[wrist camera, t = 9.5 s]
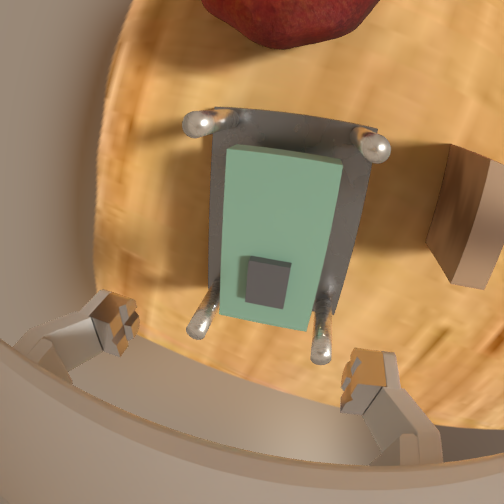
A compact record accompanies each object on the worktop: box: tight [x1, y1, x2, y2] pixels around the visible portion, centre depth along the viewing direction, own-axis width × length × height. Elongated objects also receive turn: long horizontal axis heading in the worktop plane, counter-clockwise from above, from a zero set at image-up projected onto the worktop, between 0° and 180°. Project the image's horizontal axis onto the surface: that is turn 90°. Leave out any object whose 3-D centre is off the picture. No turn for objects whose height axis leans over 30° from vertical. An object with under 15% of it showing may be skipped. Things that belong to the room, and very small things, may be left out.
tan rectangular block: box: [425, 144, 504, 290], centre depth 16 cm, size 8×3×6 cm, turn 175°
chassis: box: [182, 107, 391, 365], centre depth 19 cm, size 15×11×7 cm
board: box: [219, 144, 343, 331], centre depth 18 cm, size 11×6×3 cm, turn 175°
